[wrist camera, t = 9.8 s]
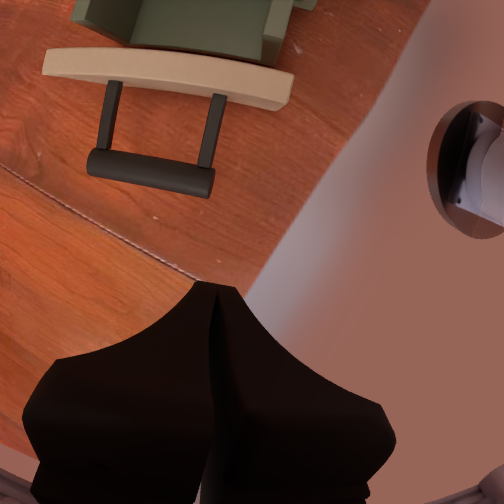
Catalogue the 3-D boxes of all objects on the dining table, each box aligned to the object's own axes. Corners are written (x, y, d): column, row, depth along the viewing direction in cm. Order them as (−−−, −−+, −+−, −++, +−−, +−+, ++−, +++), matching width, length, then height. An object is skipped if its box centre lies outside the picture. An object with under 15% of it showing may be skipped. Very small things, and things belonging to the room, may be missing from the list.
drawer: (256, 190, 19) (256, 227, 12) (92, 158, 18) (27, 179, 12) (321, -59, 12) (344, -117, 6) (160, -77, 11) (129, -131, 5)
